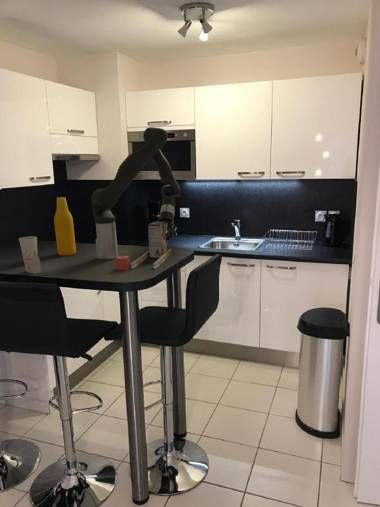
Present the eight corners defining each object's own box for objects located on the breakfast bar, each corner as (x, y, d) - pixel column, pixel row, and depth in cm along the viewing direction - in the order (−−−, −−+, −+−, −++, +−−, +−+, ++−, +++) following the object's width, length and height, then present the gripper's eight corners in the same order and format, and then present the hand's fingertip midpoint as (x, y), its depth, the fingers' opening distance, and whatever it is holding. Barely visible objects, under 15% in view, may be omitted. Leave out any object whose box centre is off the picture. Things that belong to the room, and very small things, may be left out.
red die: (116, 269, 177) (115, 257, 176) (120, 266, 182) (119, 255, 181) (127, 270, 176) (126, 257, 175) (130, 267, 181) (129, 255, 180)
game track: (131, 268, 178) (130, 264, 178) (150, 253, 207) (150, 249, 206) (155, 268, 176) (155, 264, 176) (172, 253, 205) (171, 249, 204)
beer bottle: (74, 250, 220) (68, 196, 213) (77, 254, 211) (72, 197, 205) (56, 253, 216) (50, 197, 209) (59, 256, 208) (52, 198, 201)
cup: (43, 260, 200) (40, 236, 197) (32, 264, 192) (29, 239, 190) (29, 260, 202) (26, 236, 200) (18, 264, 195) (15, 239, 192)
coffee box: (154, 253, 206) (153, 221, 203) (167, 253, 205) (165, 221, 201) (149, 257, 197) (147, 224, 194) (162, 257, 196) (160, 224, 193)
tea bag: (33, 269, 183) (30, 247, 181) (41, 271, 179) (38, 249, 177) (25, 271, 181) (22, 249, 178) (33, 273, 176) (30, 251, 174)
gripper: (153, 210, 215) (147, 238, 206) (177, 210, 213) (173, 238, 204) (156, 219, 221) (151, 246, 212) (180, 219, 219) (176, 246, 210)
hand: (162, 242), depth 208 cm, fingers closed
